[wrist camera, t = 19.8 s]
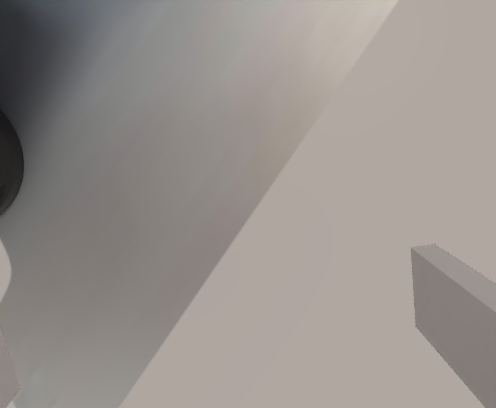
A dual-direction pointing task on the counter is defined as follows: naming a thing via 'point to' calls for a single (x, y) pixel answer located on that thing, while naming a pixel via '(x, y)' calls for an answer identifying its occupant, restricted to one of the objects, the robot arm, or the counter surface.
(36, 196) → the counter surface
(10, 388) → the robot arm
